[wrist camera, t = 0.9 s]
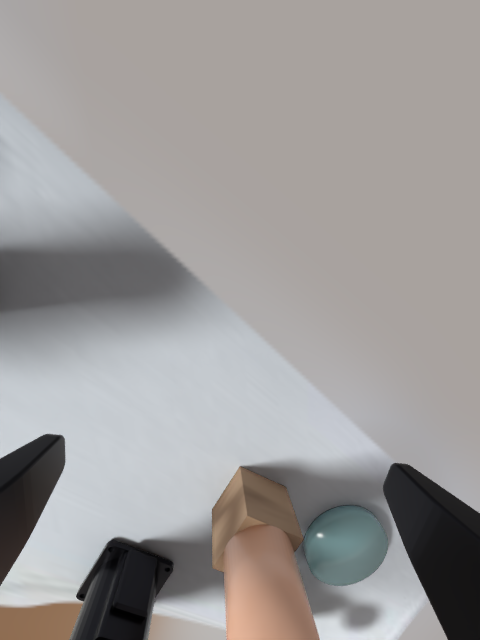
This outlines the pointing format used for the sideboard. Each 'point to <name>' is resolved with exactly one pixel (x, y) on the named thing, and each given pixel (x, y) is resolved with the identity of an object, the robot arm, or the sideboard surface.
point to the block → (251, 511)
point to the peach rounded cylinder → (265, 588)
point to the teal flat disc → (345, 545)
